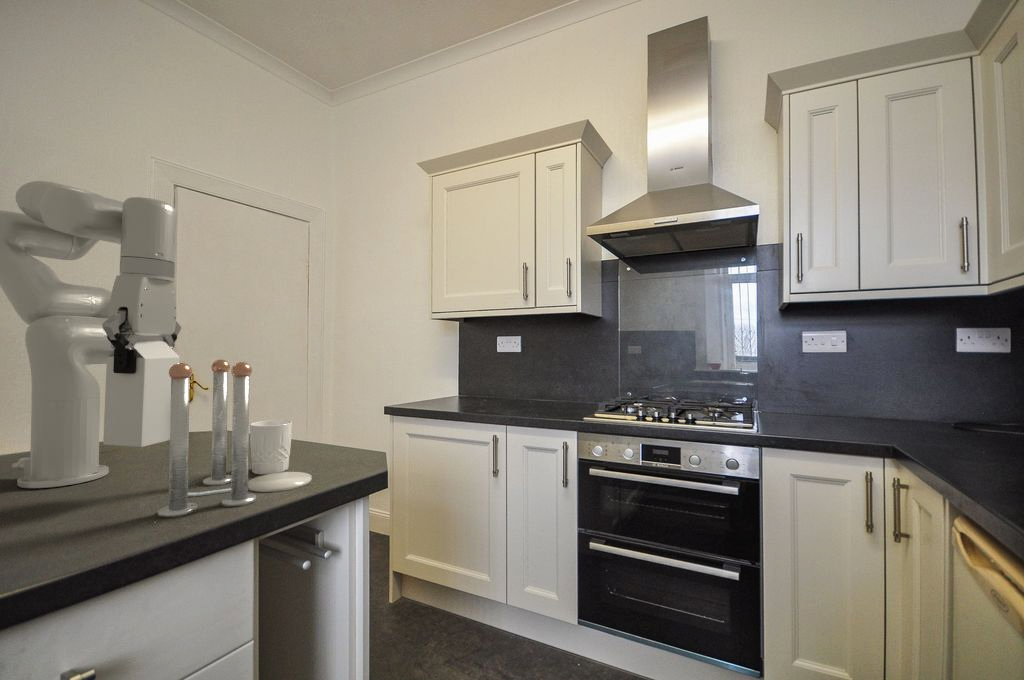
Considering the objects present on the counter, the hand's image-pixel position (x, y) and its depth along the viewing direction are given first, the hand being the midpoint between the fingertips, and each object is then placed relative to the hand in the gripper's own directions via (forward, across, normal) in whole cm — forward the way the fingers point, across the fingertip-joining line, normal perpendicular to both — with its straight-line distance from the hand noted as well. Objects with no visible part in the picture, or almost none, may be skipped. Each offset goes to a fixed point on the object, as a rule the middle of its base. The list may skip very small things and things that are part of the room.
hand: (143, 370), depth 80 cm
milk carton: (+13, 0, 0) cm, 13 cm away
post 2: (+22, -7, +9) cm, 25 cm away
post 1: (+21, +9, +12) cm, 26 cm away
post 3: (+21, +4, +19) cm, 29 cm away
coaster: (+21, -6, +21) cm, 31 cm away
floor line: (+21, -1, +12) cm, 24 cm away
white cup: (+22, -15, +15) cm, 31 cm away
